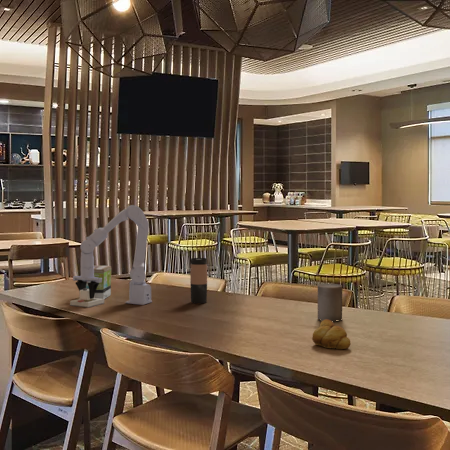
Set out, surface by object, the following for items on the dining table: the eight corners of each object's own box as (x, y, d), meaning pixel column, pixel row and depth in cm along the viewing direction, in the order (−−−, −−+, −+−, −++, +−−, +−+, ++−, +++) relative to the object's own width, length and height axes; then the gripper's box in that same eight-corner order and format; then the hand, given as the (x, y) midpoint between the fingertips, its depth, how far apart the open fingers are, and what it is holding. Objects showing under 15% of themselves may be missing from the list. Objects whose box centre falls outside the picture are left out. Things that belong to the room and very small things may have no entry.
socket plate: (104, 303, 252) (104, 297, 252) (88, 307, 242) (88, 301, 242) (86, 301, 257) (86, 295, 257) (69, 305, 247) (69, 299, 247)
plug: (94, 301, 251) (94, 287, 250) (87, 302, 246) (87, 289, 246) (86, 300, 253) (86, 286, 252) (79, 302, 248) (79, 288, 248)
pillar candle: (343, 318, 226) (343, 280, 225) (341, 323, 217) (341, 284, 216) (318, 316, 229) (318, 280, 228) (315, 321, 219) (316, 283, 219)
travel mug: (208, 300, 261) (208, 257, 260) (206, 303, 253) (206, 259, 253) (191, 300, 262) (191, 257, 261) (189, 303, 254) (189, 259, 253)
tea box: (104, 300, 259) (104, 268, 259) (82, 300, 260) (82, 268, 259) (111, 295, 274) (111, 264, 274) (90, 294, 275) (90, 264, 274)
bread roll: (356, 349, 180) (357, 324, 179) (336, 353, 174) (336, 328, 174) (326, 340, 190) (327, 317, 190) (306, 344, 184) (306, 320, 184)
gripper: (68, 267, 248) (68, 297, 249) (94, 269, 242) (94, 300, 243) (78, 265, 255) (78, 295, 255) (104, 267, 249) (105, 298, 249)
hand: (87, 297), depth 249 cm, fingers closed on plug, 4 cm apart
